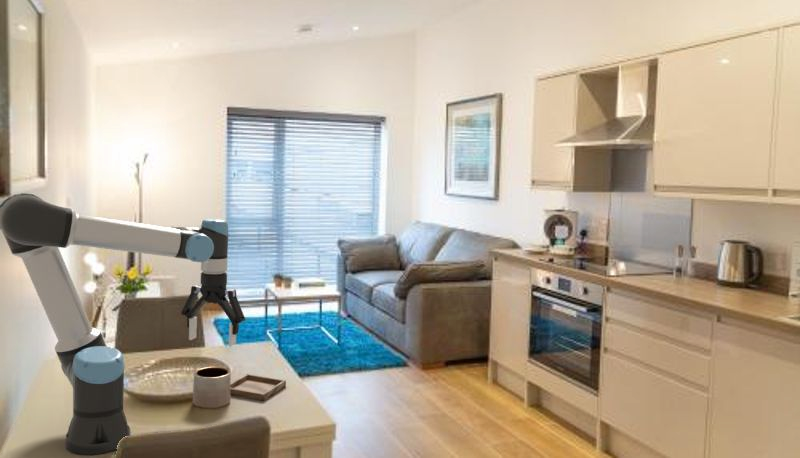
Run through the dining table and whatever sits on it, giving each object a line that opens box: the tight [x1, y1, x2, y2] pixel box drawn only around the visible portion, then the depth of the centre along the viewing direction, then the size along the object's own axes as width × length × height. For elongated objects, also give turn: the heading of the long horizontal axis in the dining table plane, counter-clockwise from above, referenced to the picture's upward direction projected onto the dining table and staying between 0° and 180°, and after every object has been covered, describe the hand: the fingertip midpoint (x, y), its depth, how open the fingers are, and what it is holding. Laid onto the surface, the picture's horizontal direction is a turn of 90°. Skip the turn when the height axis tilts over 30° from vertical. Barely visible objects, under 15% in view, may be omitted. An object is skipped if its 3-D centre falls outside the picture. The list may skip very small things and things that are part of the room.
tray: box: [230, 373, 287, 402], centre depth 210 cm, size 14×14×2 cm
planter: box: [192, 366, 232, 410], centre depth 197 cm, size 11×11×10 cm
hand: (212, 341), depth 196 cm, fingers open, 13 cm apart
